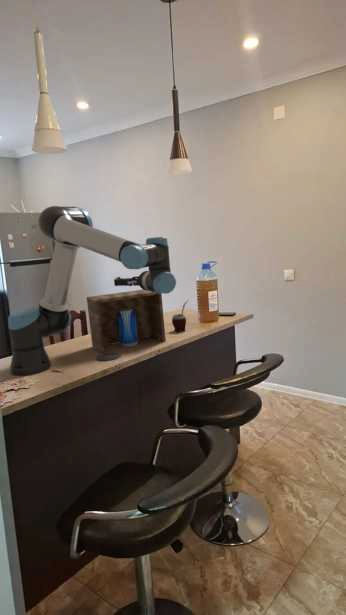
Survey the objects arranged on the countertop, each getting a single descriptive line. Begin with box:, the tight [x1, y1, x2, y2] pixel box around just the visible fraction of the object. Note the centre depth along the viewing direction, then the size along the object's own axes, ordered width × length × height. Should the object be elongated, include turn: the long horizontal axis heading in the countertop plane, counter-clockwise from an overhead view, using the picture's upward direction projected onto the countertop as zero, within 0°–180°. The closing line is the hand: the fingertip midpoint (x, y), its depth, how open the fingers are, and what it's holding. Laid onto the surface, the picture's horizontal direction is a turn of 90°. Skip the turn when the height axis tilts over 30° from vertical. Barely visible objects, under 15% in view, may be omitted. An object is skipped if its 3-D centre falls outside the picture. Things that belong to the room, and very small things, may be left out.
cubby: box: [86, 289, 167, 355], centre depth 187 cm, size 30×15×23 cm, turn 114°
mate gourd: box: [171, 299, 189, 333], centre depth 207 cm, size 8×8×15 cm
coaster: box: [95, 352, 122, 362], centre depth 170 cm, size 10×10×1 cm
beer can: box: [117, 309, 139, 347], centre depth 187 cm, size 8×8×16 cm
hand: (132, 278), depth 172 cm, fingers open, 13 cm apart
